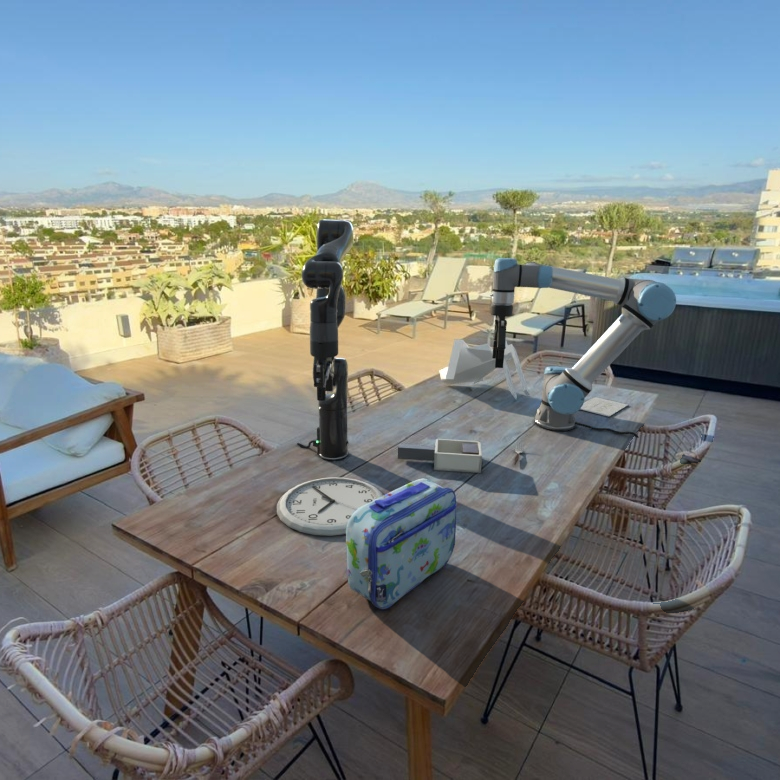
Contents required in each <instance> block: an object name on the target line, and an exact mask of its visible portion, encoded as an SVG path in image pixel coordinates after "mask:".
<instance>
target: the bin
mask: <svg viewBox="0 0 780 780" xmlns="http://www.w3.org/2000/svg"><path fill="white" fill-rule="evenodd" d="M462 443H465V444H478V452H479V455H472V454H462ZM397 459H398V460H412V461H413V460H414V461H429V462H433V463H434V464H433V470H434V471H445V472H457V473H458V472H459V473H460V472H461V473H472V474H473V473H475V474H481V473H482V461H483V452H482V445H481V441H480V440H463V439H448V438H435V445H425V444H424V445H423V444H422V445H421V444H410V443H409V444H407V443H404V444H403V443H398V446H397Z"/></svg>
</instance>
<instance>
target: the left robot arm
mask: <svg viewBox="0 0 780 780" xmlns="http://www.w3.org/2000/svg"><path fill="white" fill-rule="evenodd" d="M353 227H354V226H353V225H352V223H351V222H350V221H348V220H345V219H344V220H343V219H320V220H319V221H318V223H317V226H316V254H315V255H313V256H312V257H310V258H309V259H307V261H305V263H304V265H302V269H301V281H302V283H303V285H304V286H305V287H307V288H308V289H311V290H316V293H315V294H316V295H315V298H312V299H311V300H310V302H309V320H310V323H309V349H310V350H309V353H310V356H311V357H313V362H312V381H313V387H314V388H316V400H317V401H318V427H316V438H313V439H312V440H310V441H309V442H308V445H304V444H302V443H299V442H298V443H296V445H297V446H299V447H301V448H304V449H309V448H310V447H311V445H312V447H314V448H316V451H317V456H319V457H320V458H322V459H323V460H326V461H339V460H342V459H345V458H346V457H348V455H349V451H348V449H349V448H348V446H349V439H348V384H349V383H348V382H349V363H348V360H347V359H346V358H345V357H337V356H338V355H339V328H340V327H341V324H342V323H343V321H344V319H345V317H346V301H347V295H346V292H345V289H344V288H343V286H342V284H343V280H344V269H343V267H342V265H341V263H342V260H343V259H344V258H345V256H347V254H348V253H349V252H350V251H351V249H352V247H353V245H354V244H353V243H354V228H353ZM334 387H335V390H334ZM333 390H334V391H333ZM327 392H328V393H327Z"/></svg>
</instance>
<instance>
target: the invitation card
mask: <svg viewBox="0 0 780 780" xmlns="http://www.w3.org/2000/svg"><path fill="white" fill-rule="evenodd" d="M628 406H629V404H627V403H623V402H618V401H614V400H609V399H605V398H601V397H596V396H593V397H592V398H590V399H588V400H586V401H584V403H583V406H582V407H581V408H580V409H579V410H581V411H584V412H587V413H593V414H596V415H600V416H604V417H608V418H609V417H611V416H613V415H614V414H616V413H617V412H619V411H621V410H623V409H624V408H626V407H628Z"/></svg>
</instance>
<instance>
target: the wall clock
mask: <svg viewBox="0 0 780 780" xmlns="http://www.w3.org/2000/svg"><path fill="white" fill-rule="evenodd" d="M384 495H385V494H384V493H383V492H382V491H381V490H380V489H379V488H377V487H376V486H374V485H372V484H371V483H369V482H365V481H362V480H359V479H355V478H349V477H338V476H337V477H335V476H333V477H332V476H331V477H322V478H317V479H312V480H307V481H305V482H302V483H299V484H297V485H295V486H293V487H292V488H290V489H288V490H287V491H286V492H285V493H284V494H283V495H281V496H280V498H279V499H278V502H277V503H276V515H277V517H278V518H279V520H280V521H281V522H282V523H283V524H285V525H286V526H287V527H288V528H290V529H293V530H295V531H297V532H299V533H303V534H308V535H312V536H327V537H328V536H329V537H331V536H332V537H333V536H342V535H346V528H347V524H348V521H349V519H350V517H351V515H352V514H353V513H354V512H355V511H356V510H357V509H358V508H360V507H362V506H364V505H366V504H368V503H370V502H372V501H374V500H376V499H378V498H380V497H382V496H384Z"/></svg>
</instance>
